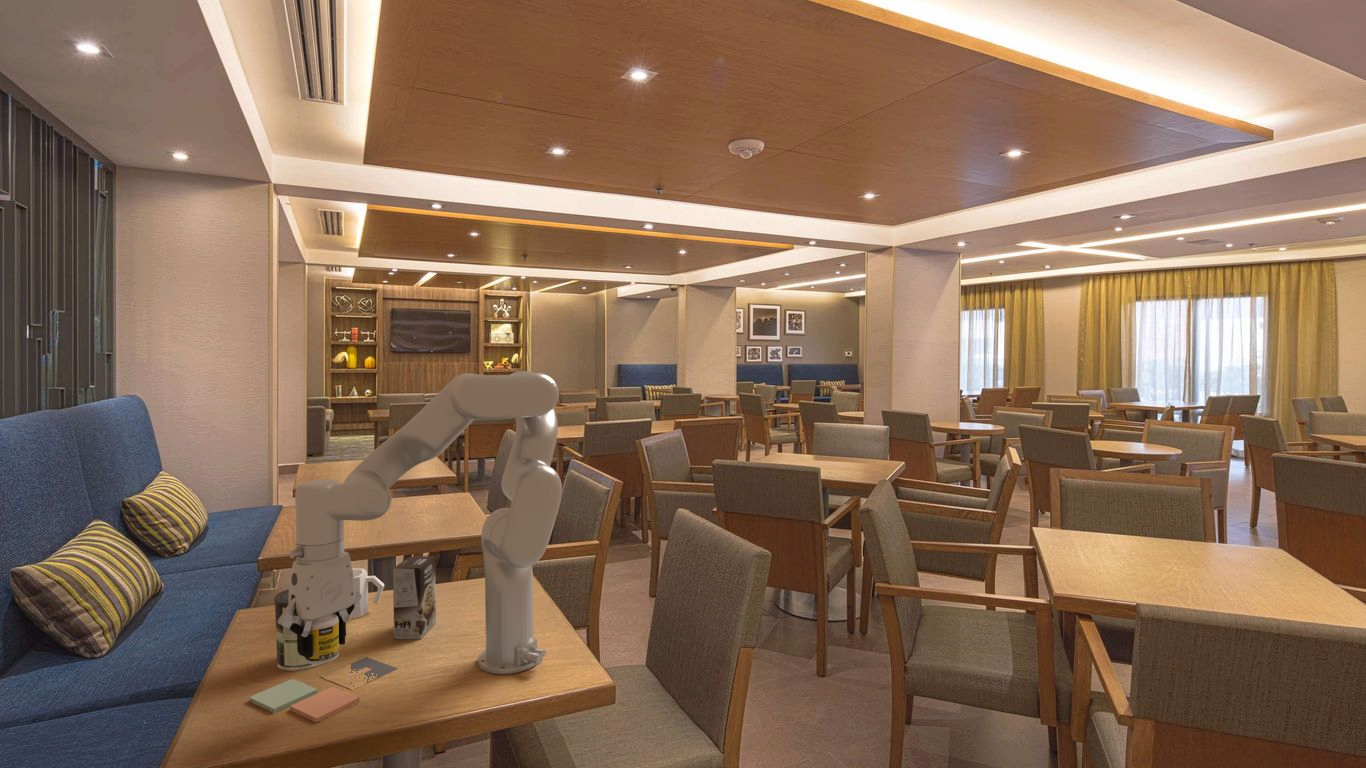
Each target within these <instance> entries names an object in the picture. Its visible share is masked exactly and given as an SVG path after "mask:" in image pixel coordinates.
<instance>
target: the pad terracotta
mask: <svg viewBox="0 0 1366 768" xmlns="http://www.w3.org/2000/svg"><path fill="white" fill-rule="evenodd" d="M356 702H358V703H359V702H360V698H359V697H358V696H356V695H354V694H351V693H349V692H346V691H344V690H341V689H339V688H336V687H335V686H331V687H328V688H327V689H324V690H322V691H320V692H317V694H315V695H313V696H311V697H309V698H306V699H304V700H302V701H300V702H298V703H296V704H293V705H291V706H289V711H291V712H293V713H294V714H297V715H299V716H301V717H304V718H305V717H306V719H307V720H310V719H311V720H310V721H312V720H313V721H312V722H314V721H315V722H314V723H316V722H318V723H319V721H320V720H322V721H324V720H326V719H327V718H326V717H328V718H330V717H332V716H334V715H335V714H334V713H336V714H338V713H340V712H341V711H340V710H342V709H344V708H346V707H348V706H350V707H352V706H353V705H352V704H354V705H356V704H357V703H356ZM355 703H356V704H355ZM351 705H352V706H351ZM348 708H349V707H348ZM346 709H347V708H346ZM344 710H345V709H344ZM339 711H340V712H339ZM342 711H343V710H342ZM337 712H338V713H337ZM333 714H334V715H333ZM331 715H332V716H331ZM329 716H330V717H329ZM325 718H326V719H325ZM323 719H324V720H323ZM320 722H321V721H320Z"/></svg>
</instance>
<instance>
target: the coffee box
mask: <svg viewBox="0 0 1366 768" xmlns="http://www.w3.org/2000/svg"><path fill="white" fill-rule="evenodd" d="M392 575H393V576H392V579H393V580H392V583H393V584H392V587H393V589H392V590H393V593H392V594H393V596H392V597H393V598H392V599H393V604H392V605H393V639H394V640H395V639H396V640H398V639H399V640H421V639H422V638H424V636H426V634H427V633H429V631H431V630H432V628H434V626H435V625H436V624H437V601H436V599H437V594H436V556H434V555H433V556H431V555H427V556H425V555H424V556H423V555H422V556H420V555H419V556H408V557H407V558H406V559H404V560H403V561H401V562H399V563H398V564H397V565H396V566H394V567H393V568H392Z"/></svg>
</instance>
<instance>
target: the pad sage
mask: <svg viewBox="0 0 1366 768" xmlns="http://www.w3.org/2000/svg"><path fill="white" fill-rule="evenodd" d="M317 693H318V688H315V687H313V686H311V685H308V684H306V683H303V682H301V681H299V680H297V679H294V678H291V679H288V680H287V681H284V682H281V683H279V684H277V685H275V686H271V687H269V688H267V689H265V690H263V691H260V692H258V693H255V694H254V695H251V696H249V697H248V702H250V703H252V704H254V705H256V706H258V707H260V708H262V709H264V710H266V711H268V712H271V713H273V714H276V713H278V712H280V711H282V710H285V709H287V708H290V706H291V705H293V704H296V703H298V702H300V701H302V700H304V699H307V698H309V697H311V696H313V695H315V694H317Z"/></svg>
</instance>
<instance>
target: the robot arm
mask: <svg viewBox="0 0 1366 768" xmlns="http://www.w3.org/2000/svg"><path fill="white" fill-rule="evenodd" d="M559 397H560V391H559V387H558V384H557V382H556V381H555V380H554V379H553V378H551V377H550V376H549V375H547V374H545V373H543V372H542V373H541V372H536V371H527V370H521V371H520V370H519V371H514V372H512V373H510V374H494V375H491V374H490V375H489V374H488V375H487V374H476V373H468V372H467V373H462V374H459V375H457V376H456V377H454V378H453V379H452V380H450V382H448V383H447V384H446V385H445V386H444V387H443V388H442V389H441V390H440V391H439V392H438V393H437V394H435V396H434V397H432V398H431V400H430V401H429V402H428V403H426V404H425V406H424V407H422V408H421V410H419V412H417V414H415V415H414V416H413V417H412V418H411V419H410V420H408V422H407V423H406V424H405V425H404V426H402V427H401V428H400V429H398V430H396V431H395V432H394V433H393V435H391V436H390V437H389V438H388V439H386V440H385V441H383V442H382V443H381V444H380V445H379V446H378V447H376V448H375V449H374V450H373V451H371V453H370V454H368V455H367V456H366V457H365V458H364V459H363V460H362V461H361V462H360V463H359V464H358V465H357V466H356V467H355V468H353V470H352V471H351V472H350V473H349V474H348V475H347V476H346V478H345V479H344V481H343V483H341V482H340V481H338V480H336V479H327V478H326V479H313V480H307V481H303V482H301V483H299V484H298V486H297V487H296V489H295V496H294V497H295V539H296V540H295V541H296V544H295V548H294V549H293V550H290V551H289V557H290V558H291V559H296V560H294V561H293V562H292V566H291V567H292V568H291V570H290V571H291V572H290V577H289V584H288V585H289V587H288V589H289V601H288V604H289V605H288V606H287V608H286V609H285V611H284V612H283V614H282V615H281V616H280V618H279V619H278V622H277V623H278V624H280V625H282V626H284V627H286V628H287V629H289V630H291V631H292V632H294V633H295V634H297V651H298V653H299V655H301V656H304V657H306V658H310V657H312V656H313V637H312V635H310V634H309V632H310V628H311V625H312V621H313V620H315V619H318V618H321V617H324V616H327V615H330V614H333V613H334V614H336V615H337V616H338V619H339V646H342V645H345V644H346V636H347V622H348V621H349V615H350V614H351V612H352V611H353V609H354V607H355V605H356V604H357V603H358V602H359V600H360V599H361V597H362V595H361V594H360V593H359V592H357V591H356V590H355V585H354V576H353V569H352V568H353V565H352V561H351V558H350V554H349V552H347V551H345V535H344V534H345V533H344V532H345V531H344V530H345V529H344V528H345V526H344V525H345V524H344V523H345V522H344V521H374V520H377V519H379V518H381V517H382V516H383V515H385V514H386V513H387V512H388V511H389V510H390V507H391V505H392V500H393V499H392V493H391V490H390V489H391V488H392V487H393V485H395V483H397V482H398V480H399V479H401V478H402V477H403V476H404V475H405V474H406V473H407V472H409V471H411V469H413V468H414V467H417V466H418V465H420V464H422V463H424V462H427V461H430V460H433V459H435V458H436V457H438V456H440V455H441V454H443V452H445V450H447V449H448V448H449V446H450V445H452V443H454V441H455V440H457V438H458V437H460V435H461V434H462V433H463V432H465V430H466V429H467V428H468V427H469V426H470V425H471V424H472V423H473V422H474V421H492V420H493V421H495V420H496V421H497V420H509V419H510V420H511V419H515V423H516V424H515V425H516V427H515V435H514V438H513V442H512V447H511V450H510V453H509V455H508V459H507V461H506V464H505V465H506V466H505V469H504V472H503V475H502V478H501V483H500V484H501V490H502V493H503V494H504V496H505V497H506V498H507V499H508V500H509V501H511V505H510V507H501V508H498V509H495V510H494V511H492V512H491V513H490V514H489V515H488V516H487V517H486V519H485V521H484V523H483V525H482V528H481V537H480V538H481V540H480V541H481V548H482V549H481V550H482V556H483V562H484V563H483V564H484V566H483V567H484V600H485V601H484V603H485V604H484V605H485V606H484V607H485V608H484V609H485V611H484V612H485V614H484V615H485V616H484V617H485V650H483V651H482V652H481V653H480V654H479V656H478V658H477V664H478V665H477V666H478V667H479V668H480V669H481V670H482V671H484V672H486V673H490V674H495V675H508V674H516V673H521V672H524V671H526V670H529V669H531V668H533V667H534V666H536V665H541V664H542V663H543V658H544V657H545V656H546V655H547V654H546V653H547V650H546V649H542V648H539V646H538V639H537V638H534V605H533V603H534V599H533V598H534V597H533V596H534V591H533V589H534V588H533V585H534V582H533V581H534V579H533V577H534V575H533V574H534V573H533V572H534V571H533V566H534V565H536V563H538V561H540V559H541V558H542V557H543V555H544V554H545V552H546V550H547V547H548V545H549V542H550V540H551V539H550V538H551V536H552V532H553V529H554V525H555V522H556V520H557V519H556V518H557V516H558V511H559V509H560V505H561V501H562V495H563V485H562V480H561V477H560V476H559V474H558V472H557V471H556V470H555V469H554V468H553V467H551V464H552V461H553V456H554V453H555V448H556V443H557V440H558V434H559V433H558V431H559V430H558V429H559V428H558V427H559V424H558V418H557V413H556V410H555V407H556V406H557V404H558V401H559ZM296 616H298V617H297V620H296V623H294V622H293V621H292V620H291V619H292V617H296Z"/></svg>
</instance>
